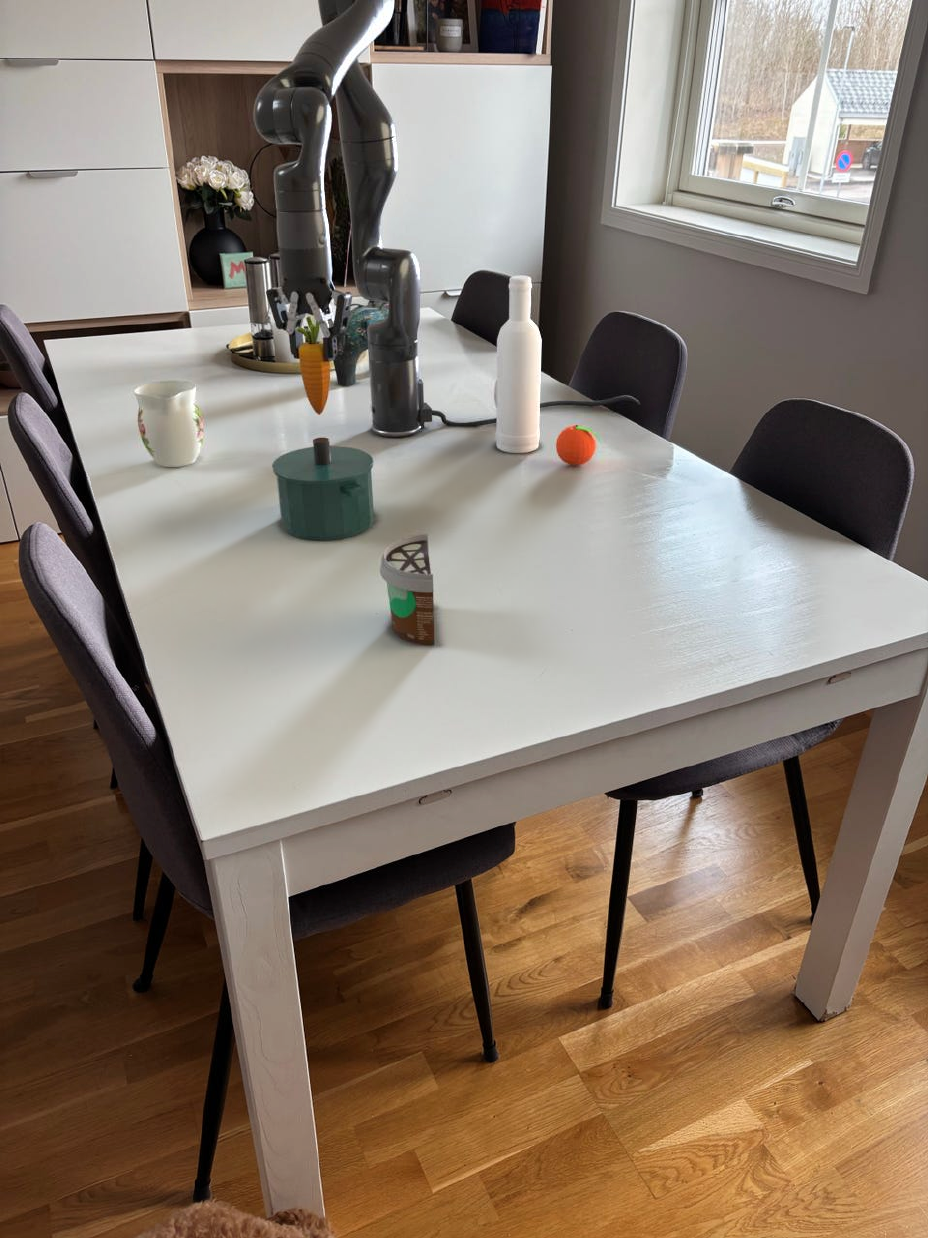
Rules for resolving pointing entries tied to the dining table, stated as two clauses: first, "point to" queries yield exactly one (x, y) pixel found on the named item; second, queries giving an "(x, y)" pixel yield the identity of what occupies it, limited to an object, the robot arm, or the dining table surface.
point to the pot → (326, 508)
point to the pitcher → (170, 422)
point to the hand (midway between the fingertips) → (314, 358)
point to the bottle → (518, 373)
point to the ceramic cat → (356, 339)
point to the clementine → (576, 445)
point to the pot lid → (322, 464)
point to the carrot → (314, 367)
